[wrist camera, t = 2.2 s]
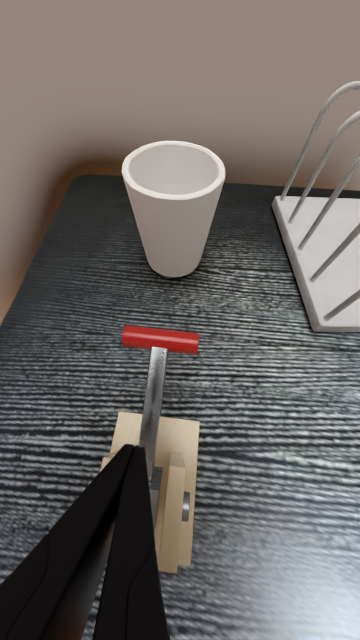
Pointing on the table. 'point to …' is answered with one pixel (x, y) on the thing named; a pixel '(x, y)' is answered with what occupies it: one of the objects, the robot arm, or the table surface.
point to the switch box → (168, 483)
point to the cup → (173, 202)
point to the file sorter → (324, 241)
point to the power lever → (156, 390)
